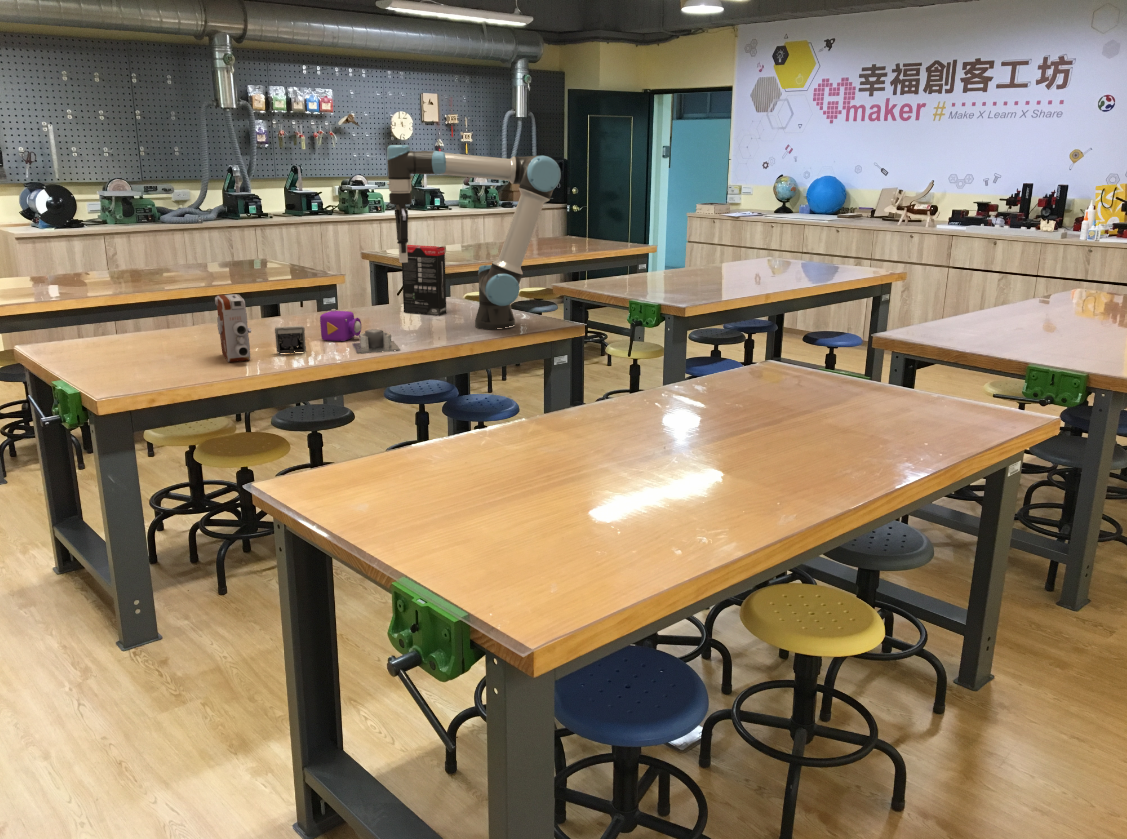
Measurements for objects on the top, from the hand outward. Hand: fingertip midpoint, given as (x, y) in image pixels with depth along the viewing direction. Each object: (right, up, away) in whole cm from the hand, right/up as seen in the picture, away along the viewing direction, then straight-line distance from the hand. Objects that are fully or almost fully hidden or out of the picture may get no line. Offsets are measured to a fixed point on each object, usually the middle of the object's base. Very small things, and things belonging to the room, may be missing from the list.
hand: (403, 262), depth 314 cm
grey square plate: (-8, -31, -10) cm, 33 cm away
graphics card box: (-1, -12, +53) cm, 54 cm away
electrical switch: (-33, -33, -18) cm, 50 cm away
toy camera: (-22, -27, +4) cm, 35 cm away
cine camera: (-48, -36, -27) cm, 66 cm away
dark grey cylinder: (-8, -30, -10) cm, 33 cm away
